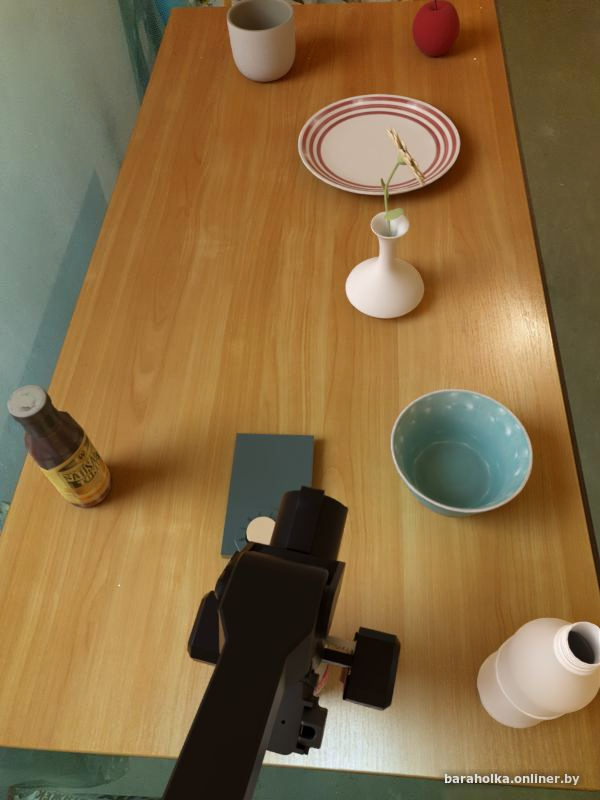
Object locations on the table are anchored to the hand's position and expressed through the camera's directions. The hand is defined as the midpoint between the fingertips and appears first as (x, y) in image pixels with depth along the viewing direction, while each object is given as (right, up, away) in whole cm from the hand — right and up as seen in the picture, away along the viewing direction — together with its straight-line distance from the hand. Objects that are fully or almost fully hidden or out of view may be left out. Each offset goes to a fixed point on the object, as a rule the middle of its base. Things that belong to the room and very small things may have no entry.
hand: (298, 663), depth 65 cm
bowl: (+19, +17, +14) cm, 29 cm away
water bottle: (+22, -3, +1) cm, 22 cm away
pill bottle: (0, -2, +3) cm, 4 cm away
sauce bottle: (-26, +16, +16) cm, 35 cm away
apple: (+27, +97, +62) cm, 118 cm away
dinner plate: (+14, +70, +46) cm, 84 cm away
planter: (-7, +92, +61) cm, 111 cm away
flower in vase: (+13, +43, +30) cm, 54 cm away
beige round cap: (-4, +11, +8) cm, 14 cm away
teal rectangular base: (-4, +15, +13) cm, 20 cm away
